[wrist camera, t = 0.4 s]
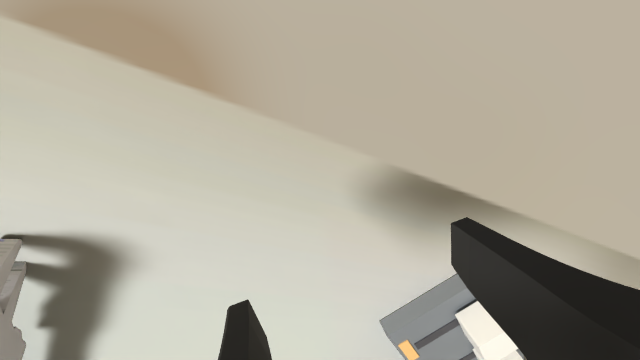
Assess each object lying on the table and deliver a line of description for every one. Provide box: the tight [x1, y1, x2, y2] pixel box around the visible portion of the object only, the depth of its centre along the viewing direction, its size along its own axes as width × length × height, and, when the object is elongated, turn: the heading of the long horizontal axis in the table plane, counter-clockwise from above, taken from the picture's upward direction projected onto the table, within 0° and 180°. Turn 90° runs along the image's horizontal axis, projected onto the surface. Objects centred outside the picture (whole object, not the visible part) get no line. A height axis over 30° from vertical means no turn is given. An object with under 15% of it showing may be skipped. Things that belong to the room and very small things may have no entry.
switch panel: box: [380, 274, 525, 360], centre depth 35 cm, size 20×10×2 cm, turn 28°
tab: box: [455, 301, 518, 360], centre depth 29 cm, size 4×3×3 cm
